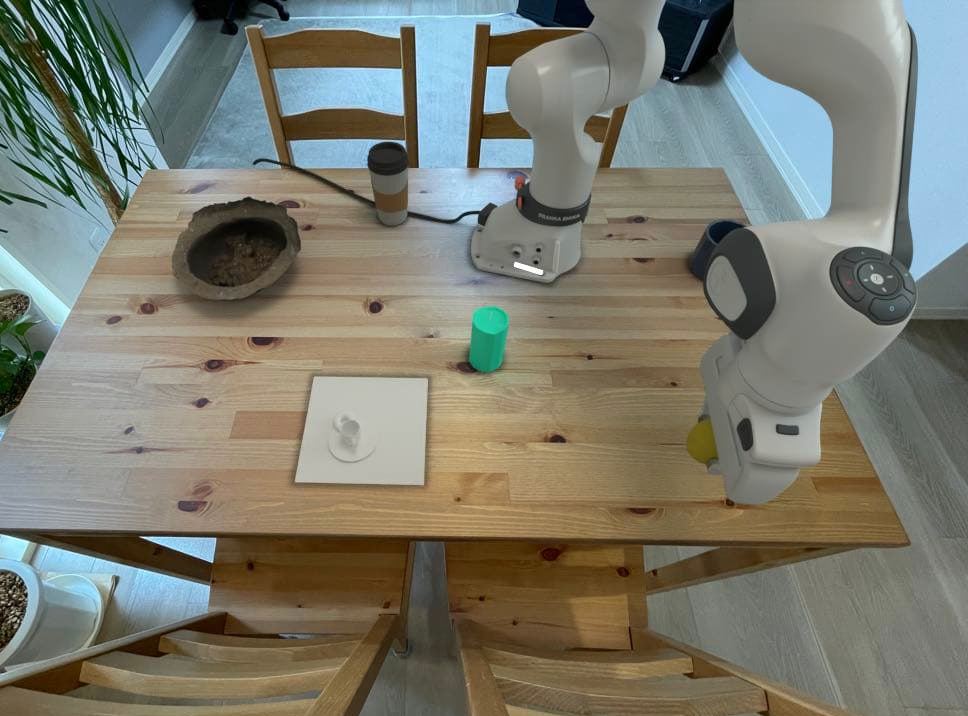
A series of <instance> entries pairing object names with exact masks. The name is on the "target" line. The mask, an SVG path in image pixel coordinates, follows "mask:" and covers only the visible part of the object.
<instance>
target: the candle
mask: <svg viewBox="0 0 968 716" xmlns="http://www.w3.org/2000/svg"><path fill="white" fill-rule="evenodd" d="M471 320H472V321H471V330H470V332H471V333H470V343H469V357H468V359H469V360H468V362H469V363H470V365H471V366H472V368H474V369H475V370H477V371H479V372H485V373H490V372H493V371H495V370H498V369H499V368H500V366H501V365H502V364H503V359H504V353H505V346H506V342H507V336H508V330H509V325H510V322H509V321H510V316H509V314H508V313H507V312H506V311H505V310H504V309H503V308H501V307H498V306H495V305H493V306H491V305H488V306H487V305H486V306H483V307H479V308H477V309H476V310H475V311H474V312H473V313H472V319H471Z"/></svg>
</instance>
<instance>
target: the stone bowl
mask: <svg viewBox="0 0 968 716" xmlns="http://www.w3.org/2000/svg"><path fill="white" fill-rule="evenodd" d="M187 226H188V227H187V229H185V230H184V231H183V230H182V231H181V232H180V234H179V235H178V238H177V241H176V244H175V247H174V250H173V252H172V254H171V269H172V275H173V277H174V278H176V279H178V280H179V283H181V284H182V285H183V286H184V287H186V288H187V289H188V290H189V291H190V292H192V293H195V294H196V295H198V296H200V297H202V298H204V299H206V300H207V299H209V300H216V301H217V300H226V301H231V300H241V299H245V298H247V297H249V296H253V295H255V294H257V293H260V292H261V291H262V290H264V289H265V288H269V287H270V286H271V285H273V284H274V283H275V282H276V281H277V280H278V279H279V278H280V277H281V276H282V275H283V274H284V273H285V272H286V271H287V270H288V269H289V267H290V265H291V264H292V263H293V261H294V260H295V259H296V258H297V255H298V254H299V253H300V252H301V251H302V240H301V237H300V233H299V227H298V222H297V221H296V220H295V218H294V217H292V216H290V215H289V214H288V208H287V207H286V206H285V205H282V204H275V203H274V202H273V201H269V202H267V201H266V200H265V199H264V200H259V199H256V198H253V197H251V196H246V197H243V198H242V199H237V200H233V201H230V200H229V201H227V203H226V202H219V203H216V202H214V203H213V204H208V205H204V206H202V207H201V208H199V209H198V210H197V211H194V212H193V213H192V218H191V220H190V221H189V222H188V223H187Z"/></svg>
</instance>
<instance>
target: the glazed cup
mask: <svg viewBox="0 0 968 716" xmlns="http://www.w3.org/2000/svg"><path fill="white" fill-rule="evenodd" d="M744 227H748V225H746V224H744V223H743V222H740V221H737V220H733V219H724V218H723V219H718V220H714V221H712V222H710V223H709V224H707V225H706V227H705V230H704V232H703V233H702V234H701V237H700V239H699V240H698V243H697V244H696V246H695V248H694V250H693V252H692V254H691V256H690V258H689V260H688V267H689V270H690V271H691V273H692V274H693V275H694V276H695V277H697V278H698V279H700V280H702V281H703V279H704V274H705V270H706V267H707V264H708V262H709V259H710V257H711V255H712V253H713V251H714V249H715V248H716V246H717V245H718V244H719V242H720V241H721V240H722V239H723V238H724V237H725V236H726V235H727V234H729V233H730V232H731V231H733V230H735V229H738V228H744Z"/></svg>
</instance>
